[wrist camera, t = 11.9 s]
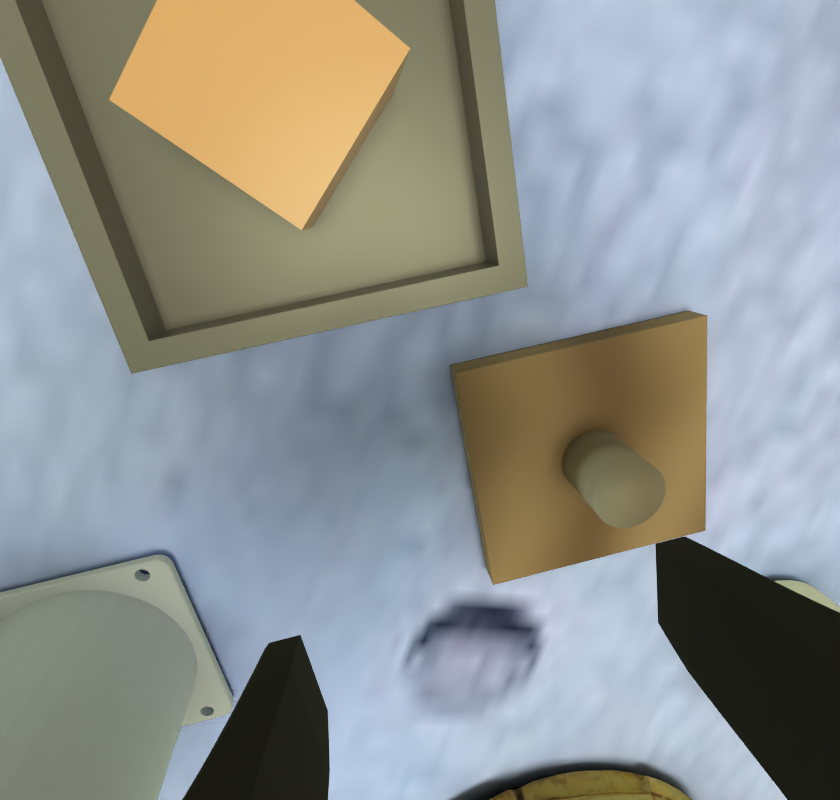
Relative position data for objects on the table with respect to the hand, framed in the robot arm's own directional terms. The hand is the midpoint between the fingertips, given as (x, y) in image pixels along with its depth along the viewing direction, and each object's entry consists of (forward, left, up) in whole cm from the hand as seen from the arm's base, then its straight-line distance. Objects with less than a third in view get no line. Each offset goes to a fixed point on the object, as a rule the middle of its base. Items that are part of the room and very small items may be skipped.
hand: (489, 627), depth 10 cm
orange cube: (-2, +11, -9) cm, 14 cm away
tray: (-2, +11, -9) cm, 15 cm away
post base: (+6, -2, -9) cm, 11 cm away
